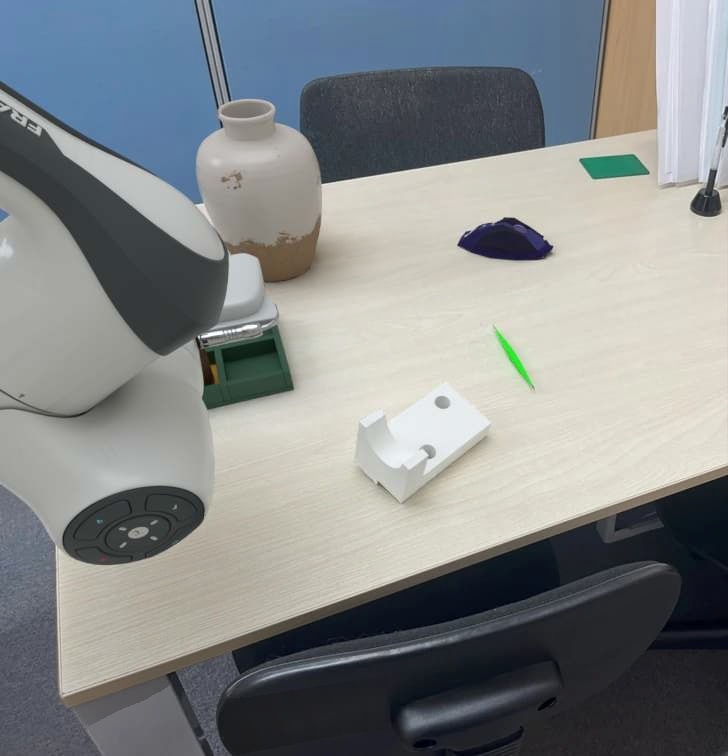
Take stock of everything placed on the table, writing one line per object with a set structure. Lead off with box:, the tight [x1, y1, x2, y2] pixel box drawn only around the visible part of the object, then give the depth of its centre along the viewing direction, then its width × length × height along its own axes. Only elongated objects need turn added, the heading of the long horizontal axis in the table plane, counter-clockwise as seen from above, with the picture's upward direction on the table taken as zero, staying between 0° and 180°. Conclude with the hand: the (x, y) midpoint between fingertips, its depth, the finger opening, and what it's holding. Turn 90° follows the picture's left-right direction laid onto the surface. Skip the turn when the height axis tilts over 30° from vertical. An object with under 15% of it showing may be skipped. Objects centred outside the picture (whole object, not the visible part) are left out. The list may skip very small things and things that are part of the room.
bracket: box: [353, 381, 492, 504], centre depth 74 cm, size 13×7×8 cm, turn 139°
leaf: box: [492, 324, 535, 389], centre depth 89 cm, size 1×14×1 cm, turn 22°
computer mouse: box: [456, 216, 554, 261], centre depth 109 cm, size 9×15×4 cm, turn 74°
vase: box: [195, 98, 323, 282], centre depth 97 cm, size 16×16×23 cm
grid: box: [202, 324, 295, 410], centre depth 86 cm, size 15×15×3 cm
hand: (126, 260), depth 59 cm, fingers open, 8 cm apart
